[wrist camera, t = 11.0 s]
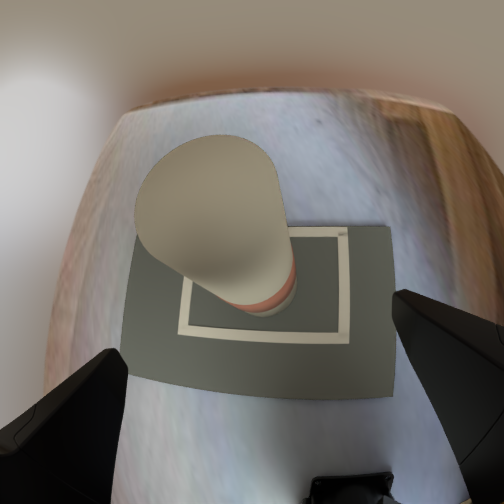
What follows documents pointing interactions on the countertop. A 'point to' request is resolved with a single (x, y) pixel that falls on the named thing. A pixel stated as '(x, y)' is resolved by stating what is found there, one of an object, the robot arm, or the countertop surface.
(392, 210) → the countertop surface
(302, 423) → the countertop surface
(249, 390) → the mat
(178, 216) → the player figure
